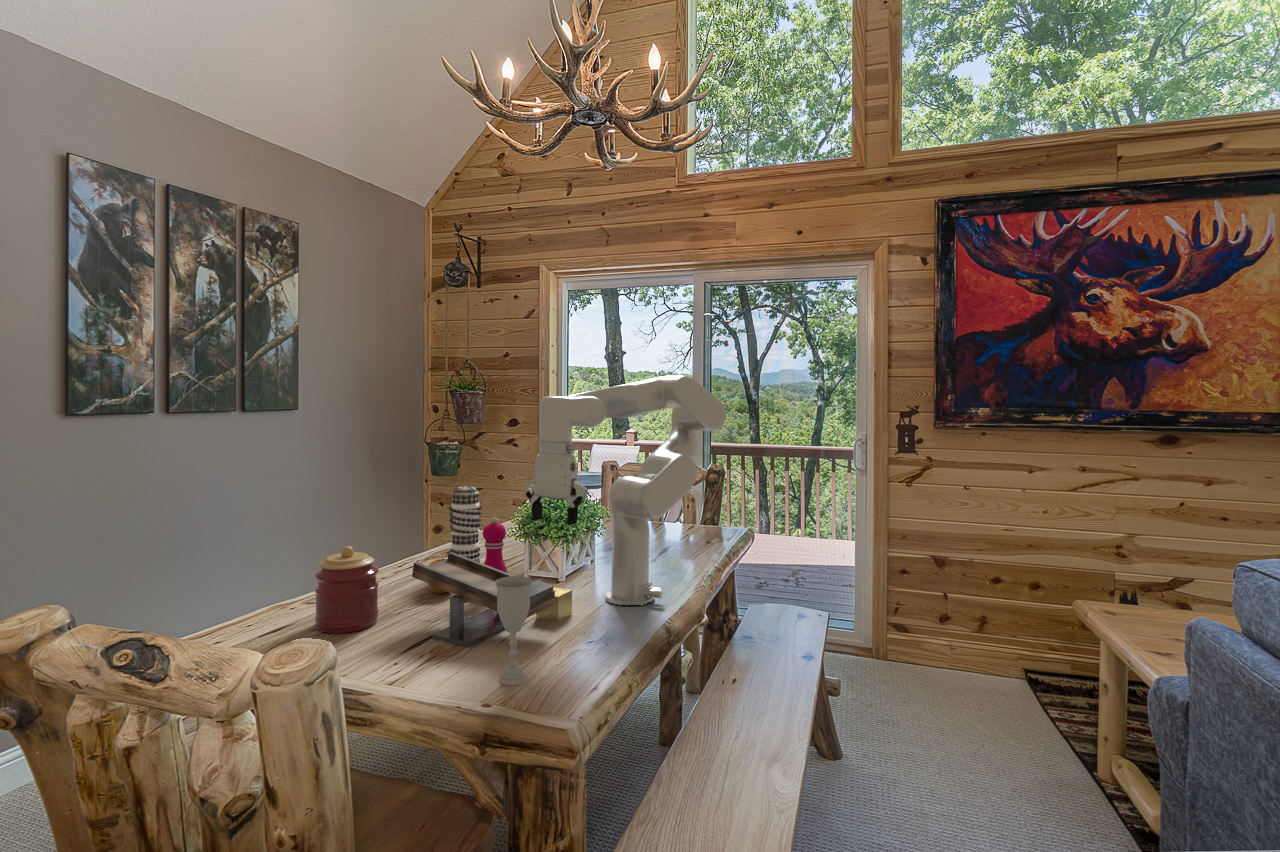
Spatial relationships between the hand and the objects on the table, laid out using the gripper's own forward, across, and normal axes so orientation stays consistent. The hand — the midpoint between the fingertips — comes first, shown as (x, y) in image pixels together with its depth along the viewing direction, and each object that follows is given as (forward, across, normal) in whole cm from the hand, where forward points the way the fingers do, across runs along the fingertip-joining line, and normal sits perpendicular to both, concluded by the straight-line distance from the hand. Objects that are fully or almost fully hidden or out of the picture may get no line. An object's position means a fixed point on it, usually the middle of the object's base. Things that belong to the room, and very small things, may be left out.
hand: (554, 522), depth 149 cm
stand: (+22, +10, +14) cm, 28 cm away
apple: (+23, +36, -2) cm, 43 cm away
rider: (+22, 0, 0) cm, 23 cm away
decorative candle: (+23, +44, -20) cm, 53 cm away
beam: (+14, +10, +14) cm, 22 cm away
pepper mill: (+23, +24, -8) cm, 34 cm away
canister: (+23, +38, +26) cm, 51 cm away
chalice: (+23, -12, +32) cm, 41 cm away
